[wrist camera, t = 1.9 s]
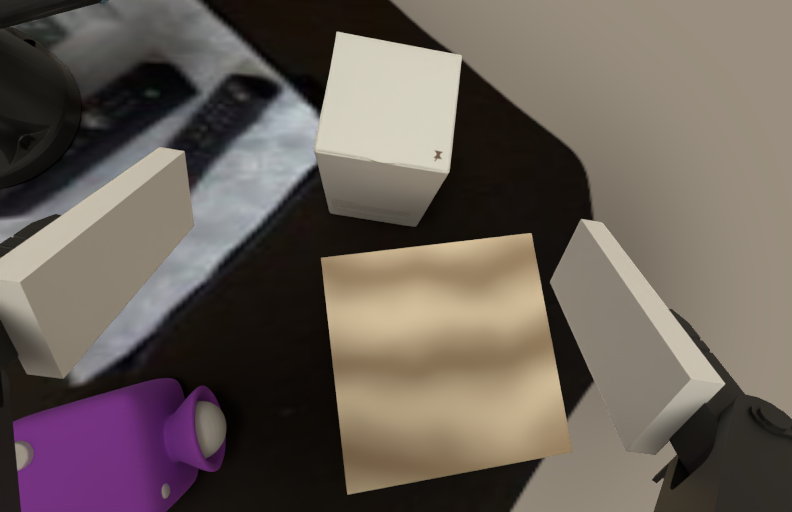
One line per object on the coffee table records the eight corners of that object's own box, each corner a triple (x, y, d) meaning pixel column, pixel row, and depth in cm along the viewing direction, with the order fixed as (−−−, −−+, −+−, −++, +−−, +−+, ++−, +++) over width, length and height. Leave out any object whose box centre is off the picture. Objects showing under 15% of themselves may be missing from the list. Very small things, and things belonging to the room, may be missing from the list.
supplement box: (428, 145, 43) (468, 51, 28) (417, 228, 41) (453, 176, 26) (341, 129, 42) (335, 25, 27) (326, 213, 40) (311, 151, 26)
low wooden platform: (328, 274, 39) (320, 257, 30) (488, 254, 41) (531, 233, 31) (348, 449, 37) (347, 494, 27) (517, 419, 39) (572, 452, 29)
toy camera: (259, 450, 36) (225, 497, 27) (104, 534, 34) (4, 620, 24) (209, 339, 37) (158, 346, 28) (56, 414, 35) (-59, 450, 25)
